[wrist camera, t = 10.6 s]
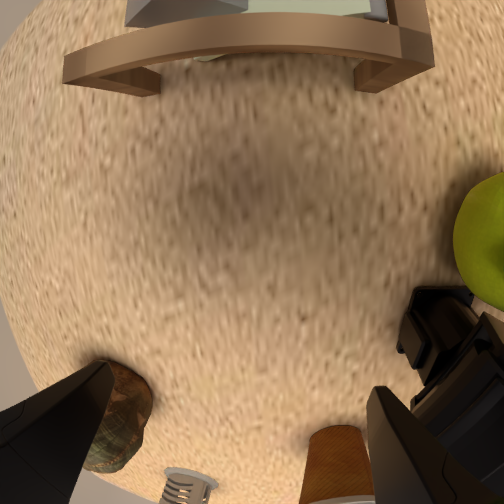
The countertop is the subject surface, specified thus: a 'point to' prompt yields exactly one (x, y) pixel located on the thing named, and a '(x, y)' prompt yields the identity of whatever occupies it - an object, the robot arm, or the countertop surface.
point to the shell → (120, 423)
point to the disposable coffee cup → (337, 468)
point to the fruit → (482, 241)
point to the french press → (187, 486)
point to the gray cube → (177, 10)
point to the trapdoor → (319, 10)
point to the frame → (262, 46)
